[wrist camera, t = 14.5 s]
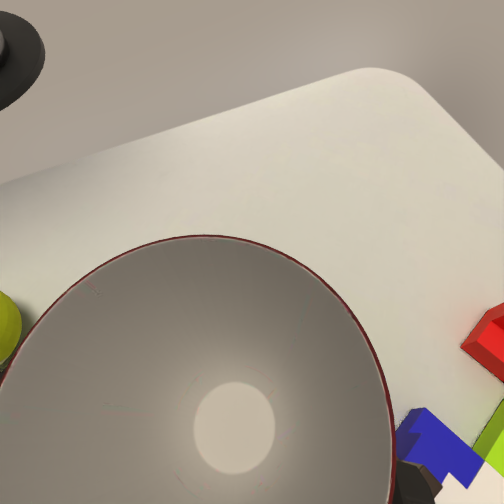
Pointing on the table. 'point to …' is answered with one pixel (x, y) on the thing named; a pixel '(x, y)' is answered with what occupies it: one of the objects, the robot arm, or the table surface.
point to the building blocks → (450, 445)
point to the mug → (197, 386)
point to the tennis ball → (8, 326)
